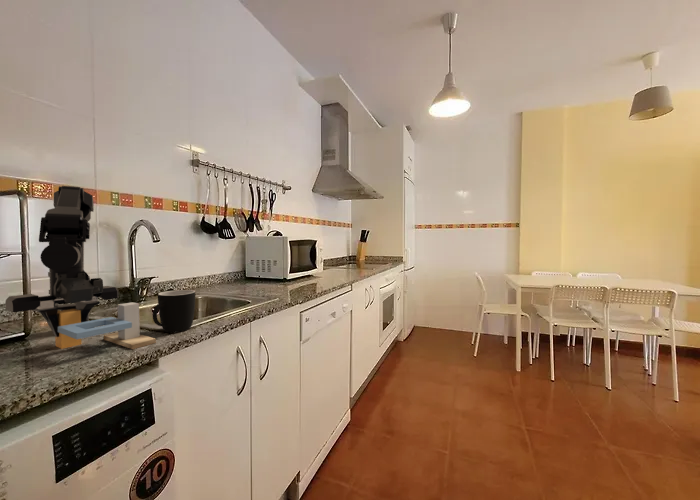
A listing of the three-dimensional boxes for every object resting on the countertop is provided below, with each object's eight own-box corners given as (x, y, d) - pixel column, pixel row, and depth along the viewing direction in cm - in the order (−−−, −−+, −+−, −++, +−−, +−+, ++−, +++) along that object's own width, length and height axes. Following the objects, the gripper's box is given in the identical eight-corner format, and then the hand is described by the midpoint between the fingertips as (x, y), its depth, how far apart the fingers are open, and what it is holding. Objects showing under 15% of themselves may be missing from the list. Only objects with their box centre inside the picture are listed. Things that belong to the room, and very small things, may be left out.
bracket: (58, 347, 68) (57, 311, 68) (126, 332, 80) (125, 301, 79) (77, 356, 63) (76, 316, 63) (147, 338, 75) (146, 305, 74)
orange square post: (55, 346, 72) (54, 311, 72) (75, 341, 75) (74, 308, 75) (61, 348, 71) (60, 313, 70) (81, 344, 74) (80, 310, 73)
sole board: (103, 339, 77) (103, 335, 77) (126, 334, 82) (126, 330, 82) (132, 349, 70) (132, 344, 70) (155, 342, 74) (155, 338, 74)
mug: (177, 324, 91) (176, 289, 91) (203, 326, 89) (202, 290, 89) (139, 336, 80) (139, 296, 80) (168, 338, 78) (167, 298, 77)
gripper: (20, 272, 60) (23, 353, 61) (128, 265, 76) (130, 329, 77) (3, 270, 66) (6, 343, 66) (107, 264, 82) (109, 323, 83)
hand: (68, 334), depth 73 cm, fingers closed on orange square post, 4 cm apart
